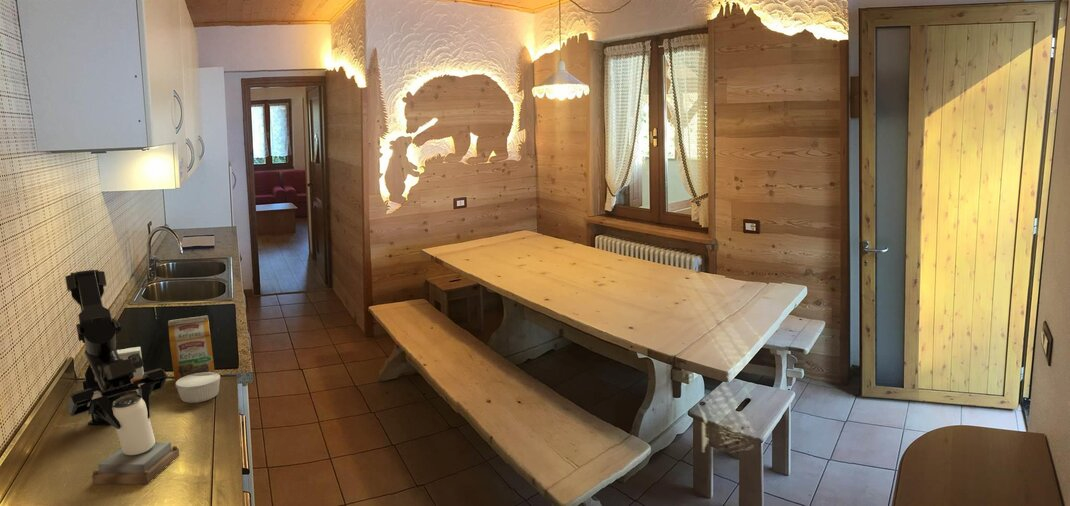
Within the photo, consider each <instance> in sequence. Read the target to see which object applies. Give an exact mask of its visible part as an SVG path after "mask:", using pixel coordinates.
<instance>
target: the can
mask: <svg viewBox="0 0 1070 506" xmlns="http://www.w3.org/2000/svg"><path fill="white" fill-rule="evenodd" d="M112 406H113V408H112V410H113V414H114V416H115V417H116V419H117V420H118V421H119V423H120V426H121V427H120V429H117V428H115V431H116V435H117V437H118V441H119V444H120V448H122V451H123V453H124V454H126V455H129V456H134V455H139V454H142V453H145V452H147V451H149V450H150V449H151V448H152V447H153V446H154V444H155V442H156V439H155V434H154V430H153V427H152V423H151V420H150V419H151V418H150V417H149V418H148V412H147V407H146V404H145V401H144V400H143V399H142V398H141V395H138V393H132V394H126V395H124V396H120V398H118V399H117V400H115V401H114V402H113V403H112Z"/></svg>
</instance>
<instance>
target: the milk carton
mask: <svg viewBox="0 0 1070 506" xmlns="http://www.w3.org/2000/svg"><path fill="white" fill-rule="evenodd" d="M209 320H210V319H209V315H201V316H195V317H194V316H193V317H187V318H186V317H185V318H178V319H171V320H168V322H167V325H168V338H169V340H168V341H169V347H170V355H171V363H172V370H173V377H174V384H175V385H174V386H175V387H176V382H177V380H179V379H180V378H182V377H185V376H187V375H191V374H195V373H203V372H213V373H216V372H215V364H214V356H213V355H214V354H213V347H212V338H211V330H210V322H209Z"/></svg>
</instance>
